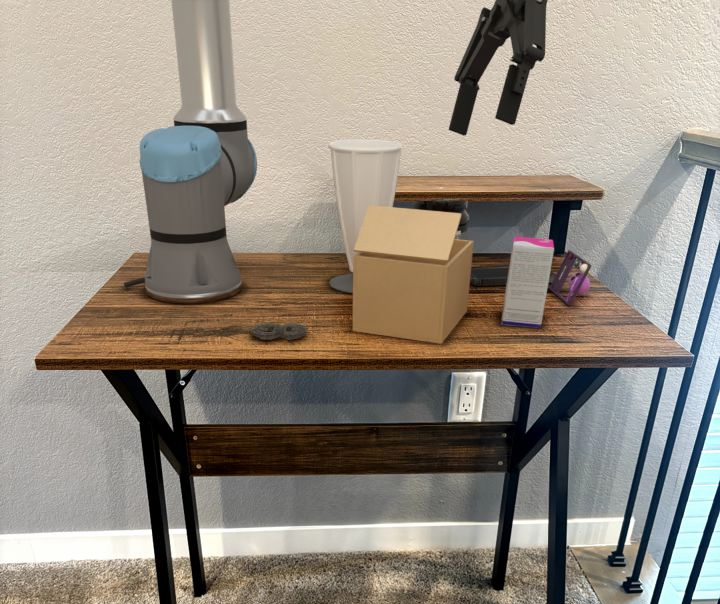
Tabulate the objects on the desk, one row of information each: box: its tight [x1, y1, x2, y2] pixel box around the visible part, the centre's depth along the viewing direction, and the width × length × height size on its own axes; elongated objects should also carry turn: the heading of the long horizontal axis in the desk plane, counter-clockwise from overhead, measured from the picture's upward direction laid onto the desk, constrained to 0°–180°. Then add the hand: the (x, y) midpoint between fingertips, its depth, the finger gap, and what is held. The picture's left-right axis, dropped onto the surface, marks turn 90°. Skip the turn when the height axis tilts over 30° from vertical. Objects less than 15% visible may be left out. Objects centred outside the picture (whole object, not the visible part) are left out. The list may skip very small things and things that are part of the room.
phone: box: [470, 264, 557, 287], centre depth 126 cm, size 8×1×15 cm
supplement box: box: [500, 235, 555, 329], centre depth 105 cm, size 6×6×12 cm
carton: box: [352, 239, 475, 345], centre depth 104 cm, size 15×13×10 cm
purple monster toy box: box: [549, 250, 592, 307], centre depth 117 cm, size 7×5×9 cm
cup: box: [327, 138, 404, 294], centre depth 117 cm, size 12×12×22 cm
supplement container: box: [412, 199, 470, 240], centre depth 131 cm, size 10×10×12 cm
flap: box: [354, 205, 461, 262], centre depth 96 cm, size 7×13×1 cm
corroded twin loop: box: [249, 322, 309, 341], centre depth 100 cm, size 5×8×1 cm, turn 89°
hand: (479, 127), depth 102 cm, fingers open, 13 cm apart
